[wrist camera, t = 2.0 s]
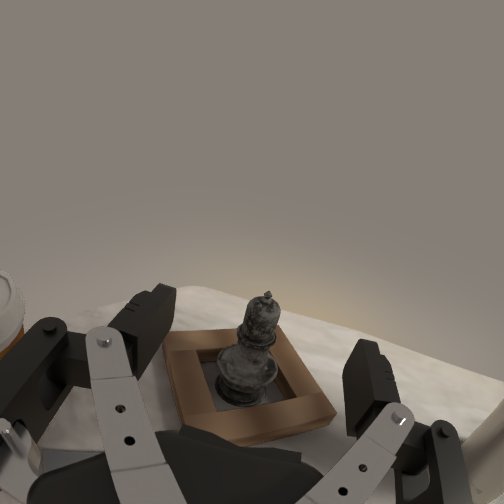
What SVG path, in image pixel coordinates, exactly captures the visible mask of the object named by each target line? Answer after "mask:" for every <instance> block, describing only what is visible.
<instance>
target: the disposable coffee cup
mask: <svg viewBox="0 0 504 504" xmlns="http://www.w3.org/2000/svg"><path fill="white" fill-rule="evenodd" d="M24 314H25V301H24V297H23V295H22V293H21V291H20V290H19V289H18V288H17V287H16V285H15V283H14V281H13V279H12V278H11V276H10V275H8V274H7V273H6V272H4V271H2V270H0V360H1V359H2V358H3V357H4V356H5V354H6V353H7V352H8V351H9V350H10V349H11V348H12V347H13V346H14V345H15V344H16V343H17V342H18V341H19V340H20V339H21V338H22V337H23V335H24V328H23V320H24Z"/></svg>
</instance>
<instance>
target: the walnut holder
mask: <svg viewBox="0 0 504 504" xmlns="http://www.w3.org/2000/svg"><path fill="white" fill-rule="evenodd" d="M236 331H237V328H235V329H219V330H198V331H170V332H168V334H167V335H166V337H165V338H164V340H163V342H162V346H163V351H164V356H165V361H166V365H167V370H168V374H169V379H170V383H171V387H172V391H173V395H174V399H175V403H176V407H177V411H178V415H179V418H180V422H181V426H182V425H183V424H186V425H189V426H192V427H195V428H198V429H202V430H205V431H208V432H212V433H214V434H216V435H217V436H219V437H221V438H223V439H225V440H227V441H229V442H231V443H233V444H235V445H237V446H240V447H245V446H250V445H254V444H259V443H263V442H268V441H272V440H276V439H280V438H284V437H288V436H292V435H295V434H299V433H302V432H306V431H309V430H313V429H316V428H319V427H322V426H325V425H329V424H330V423H331V421H332V420H333V418H334V417H335V415H336V414H337V412H336V411H335V409H334V408H333V406H332V405H331V403H330V402H329V400H328V399H327V397H326V396H325V394H324V393H323V391H322V390H321V388H320V387H319V386H318V384H317V383H316V381H315V380H314V378H313V377H312V375H311V374H310V372H309V371H308V369H307V368H306V366H305V365H304V363H303V362H302V360H301V359H300V357H299V356H298V354H297V352H296V351H295V349H294V348H293V346H292V345H291V343H290V342H289V340H288V339H287V337H286V336H285V334H284V333H283V331H282V330H281V328H280V327H279V325H277V326H276V329H275V334H276V342H275V344H274V345H273V346H271V347H270V349H269V352H268V353H269V354H270V355H271V356H272V357H273V358H274V360H275V361H276V364H277V367H278V372H277V375H276V377H275V379H274V380H275V381H276V383H277V385H278V387H279V388H280V390H281V392H282V394H283V396H284V397H285V399H286V400H284V401H279V402H274V403H269V404H264V405H258V406H253V407H247V408H241V409H234V410H228V411H221V412H217V410H216V407H215V405H214V402H213V399H212V396H211V394H210V391H209V388H208V385H207V382H206V379H205V376H204V373H203V370H202V367H201V364H200V362H210V361H217V358H218V355H219V353H220V352H221V350H223V349H224V348H225V347H227V346H230V345H232V344H237V341H238V337H237V334H236Z"/></svg>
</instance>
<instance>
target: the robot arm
mask: <svg viewBox="0 0 504 504" xmlns="http://www.w3.org/2000/svg"><path fill="white" fill-rule="evenodd" d="M175 301H176V288H173V287H170V286H167V285H164V284H161V283H159V284H158V285H157V286H156V287H155V288H154V290H153V291H152V292H148V291H143V292H141V293H138V294H136V295H135V296H134V297H133V298H132V299H131V300H130V301H129V303H127V305H126V306H125V307H124V308H123V309H122V310H121V311H120V312H119V313H118V314H117V316H116V317H115V318H114V319H113V320H112V321H111V322H110V323H109V324H108V326H107V327H105V326H102V327H96V328H94V329H92V330H90V331H89V332H88V333H87V334H81V333H75V332H69V331H67V326H66V324H65V322H64V321H62V320H61V319H59V318H55V317H46V318H43V319H40V320H39V321H38V322H36V323H35V324H34V325H33V326H32V327H31V328H30V329H29V330H28V331H27V332H26V333H25V334H24V335H23V337H22V338H21V339H20V340H19V341H18V342H17V343H16V344H15V345H14V346H13V347H12V348H11V349H10V350H9V351H8V352H7V353H6V354H5V356H4V357H3V358H2V359H1V360H0V491H4V492H5V493H7V494H8V495H10V496H11V497H13V498H14V499H15V500H17V501H18V502H20V503H21V504H364V502H365V501H366V500H367V499H368V497H369V496H370V495H371V493H372V492H373V491H374V489H375V488H376V487H377V485H378V484H379V483H380V481H381V480H382V479H383V477H384V476H385V474H386V473H387V471H388V470H389V469H390V467H391V468H394V474H395V491H396V504H473V503H474V504H486V503H489V502H491V501H492V500H494V499H495V498H497V497H498V496H499V495H501V494H502V493H504V399H503V401H502V402H501V403H500V404H499V405H498V406H497V408H496V409H495V410H494V411H493V412H492V413H491V414H490V415H489V417H488V418H487V419H486V420H485V421H484V422H483V423H482V424H481V425H480V426H479V427H478V428H477V429H476V430H475V431H474V432H473V433H472V434H471V435H470V436H469V437H468V438H467V439H466V440H465V441H464V442H463V443H462V444H461V445H460V441H459V437H458V433H457V431H456V429H455V428H454V426H453V425H452V424H450V423H449V422H447V421H444V420H437V421H435V422H434V423H433V424H432V425H431V426H430V427H429V426H427V425H424V424H421V423H419V422H416V421H415V419H414V415H413V413H412V412H411V410H410V409H409V408H408V407H406V406H405V405H403V404H401V401H400V397H399V393H398V390H397V386H396V382H395V381H394V380H395V378H394V375H393V371H392V367H391V364H390V362H389V361H388V360H387V358H386V357H385V356H384V355H381V354H380V351H379V348H378V344H377V342H374V341H369V340H365V339H359V340H358V342H357V344H356V345H355V347H354V349H353V351H352V353H351V355H350V357H349V358H348V360H347V362H346V364H345V366H344V369H343V374H342V379H343V390H344V402H345V415H346V430H347V436H352V437H357V442H356V443H355V444H354V445H353V446H352V447H351V448H350V449H349V451H348V452H347V453H346V454H345V455H344V456H343V457H342V458H341V459H340V460H339V461H338V462H337V463H336V465H335V466H334V467H333V468H332V469H331V470H330V471H329V472H328V473H327V474H326V475H325V476H323V475H322V474H321V473H320V472H319V471H318V470H316V469H315V468H313V467H312V466H310V465H308V464H306V463H305V462H302V461H301V453H300V452H294V451H288V450H283V449H277V448H249V447H240V446H237V445H235V444H233V443H231V442H229V441H227V440H225V439H223V438H221V437H219V436H217V435H216V434H214V433H212V432H208V431H205V430H202V429H198V428H195V427H192V426H189V425H186V424H183V425H182V427H181V429H180V431H172V430H166V431H157V432H154V430H153V427H152V425H151V422H150V419H149V416H148V413H147V410H146V407H145V404H144V401H143V398H142V395H141V392H140V389H139V386H138V382H137V381H138V380H139V379H140V377H141V376H142V374H143V372H144V371H145V369H146V367H147V366H148V364H149V363H150V361H151V359H152V358H153V356H154V354H155V353H156V351H157V350H158V348H159V346H160V345H161V343H162V342H163V340H164V338H165V337H166V335H167V334H168V332H169V330H170V328H171V326H172V323H173V318H174V310H175ZM73 386H78V387H83V388H89V389H92V393H93V399H94V405H95V410H96V415H97V420H98V424H99V429H100V433H101V437H102V441H103V445H104V449H105V452H103V453H100V454H97V455H95V456H92V457H89V458H87V459H84V460H81V461H78V462H75V463H73V464H70V465H67V466H64V467H61V468H58V469H55V470H51V471H48V472H46V473H44V474H42V475H41V476H39V475H38V467H39V464H40V461H41V453H40V450H39V448H38V447H37V445H36V444H37V442H38V441H39V439H40V438H41V436H42V434H43V433H44V431H45V429H46V428H47V426H48V425H49V423H50V422H51V420H52V418H53V417H54V415H55V414H56V412H57V411H58V409H59V408H60V406H61V404H62V403H63V401H64V400H65V398H66V397H67V395H68V394H69V392H70V391H71V389H72V388H73ZM428 468H429V473H430V484H429V481H428V474H427V469H428Z"/></svg>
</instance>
